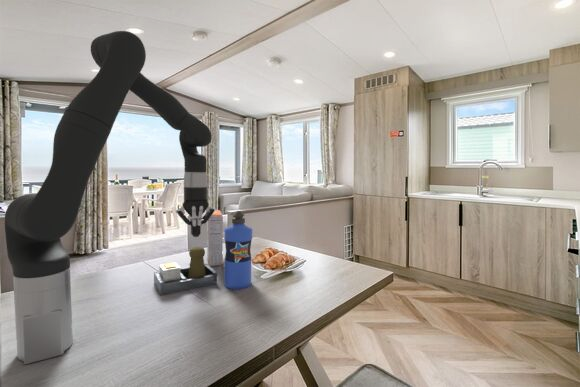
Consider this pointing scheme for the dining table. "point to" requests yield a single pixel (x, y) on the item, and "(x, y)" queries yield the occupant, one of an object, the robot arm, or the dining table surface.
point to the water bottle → (237, 253)
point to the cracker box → (215, 239)
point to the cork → (196, 263)
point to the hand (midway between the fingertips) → (195, 236)
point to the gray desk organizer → (181, 278)
